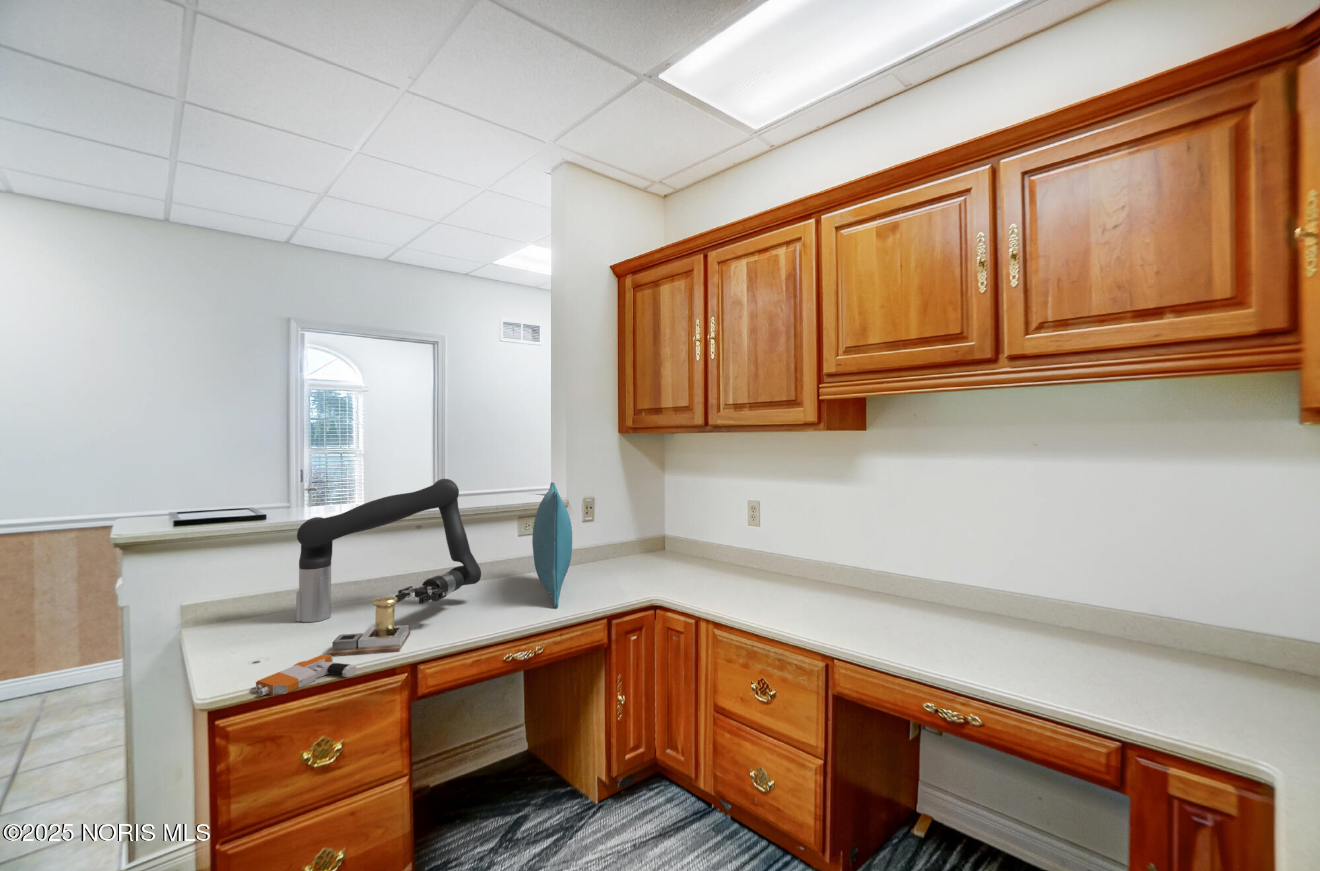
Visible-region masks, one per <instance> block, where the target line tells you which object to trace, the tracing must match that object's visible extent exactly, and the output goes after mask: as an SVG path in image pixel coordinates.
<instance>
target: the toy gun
mask: <svg viewBox="0 0 1320 871" xmlns="http://www.w3.org/2000/svg"><path fill="white" fill-rule="evenodd" d="M333 659H334V658H333V656H331V655H329V654H320V655H318V656H315V657H312V658H311V659H307V660H303V661H299V662H297V663H295V664H294V665H292V666H291V667H288V668H285V669H283V670H280V671H278V672H276V673H273V674H270V675H268V676H266V677H265V676H264V677H263V678H261V679H258V680H257V681H255V689H256V692H257V693H258V694H259V696H260V697H262V696H266V695H271V696H275V695H283V694H284V695H285V694H287V693H290V692H292V691H294V690H297V689H300V688H302V687H305V686H308V685H309V684H311V683H314V682H316V681H317V679H318V678H320V677H323V676H326V675H329V674H331V675H334V676H338V677H343V678H345V679H346V678H349V677H352V676H354V675H355V674H356V673H357V671H358V670H357V668H358V667H357V665H355V664H349V663H342V662H334V660H333Z"/></svg>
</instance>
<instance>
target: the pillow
mask: <svg viewBox="0 0 1320 871" xmlns="http://www.w3.org/2000/svg"><path fill="white" fill-rule="evenodd" d="M572 529H573V527H572V521H571V518H570V514H569V512H568V509H567V507H566V505H565V503H564V502H563V499H562V497H561V495H560V494H559V491H558V489H557V486H556V483H555V482H554V481H551V482H550V485H549V489H548V491H547V492H546V493H545V495H544V497H543V498H542V500H541V501H540V503H539V506H538V508H537V510H536V513H535V518H534V522H533V527H532V541H531V542H532V554H533V562H534V568H535V572H536V575H537V577H538V579H539V581H540V583H541V584H542V586H543V587H544V588H545V589H546V591H547V592H548V594H549V595H550V597H551V599H552V601H553V608H556V609H558V608H559V602H560V600H559V599H560V595H561V590H562V586H563V583H564V580H565V578H566V576H567V573H568V570H569V568H570V565H571V560H572V555H573V530H572Z"/></svg>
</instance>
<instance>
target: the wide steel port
mask: <svg viewBox="0 0 1320 871" xmlns="http://www.w3.org/2000/svg"><path fill="white" fill-rule="evenodd" d="M409 628H410V626H409V624H406V625H405V624H404V625H402V624H401V625H394V636H380V637H375V626H373V627H372V626H370V627H368V628H367V629H366V630H365V632H364V633H363V635H362V636H361V638H360V639H359V640H358V649H368V648H382V647H396V646H401V644H402V643H403V641H404V640H405V638H406V636H407V635H408V633H409V631H410V629H409Z"/></svg>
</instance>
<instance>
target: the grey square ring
mask: <svg viewBox="0 0 1320 871" xmlns="http://www.w3.org/2000/svg"><path fill="white" fill-rule="evenodd" d="M363 634H364V633H363V632H359V633H344V634H343V633H342V634H338V636H337V637H336V638H335V639H334V640H333V641H332V642H331V643H332V648H331V650H332V651H340V650H354V649H357V648H358V640H359V639H360V638H361V636H362V635H363Z"/></svg>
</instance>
